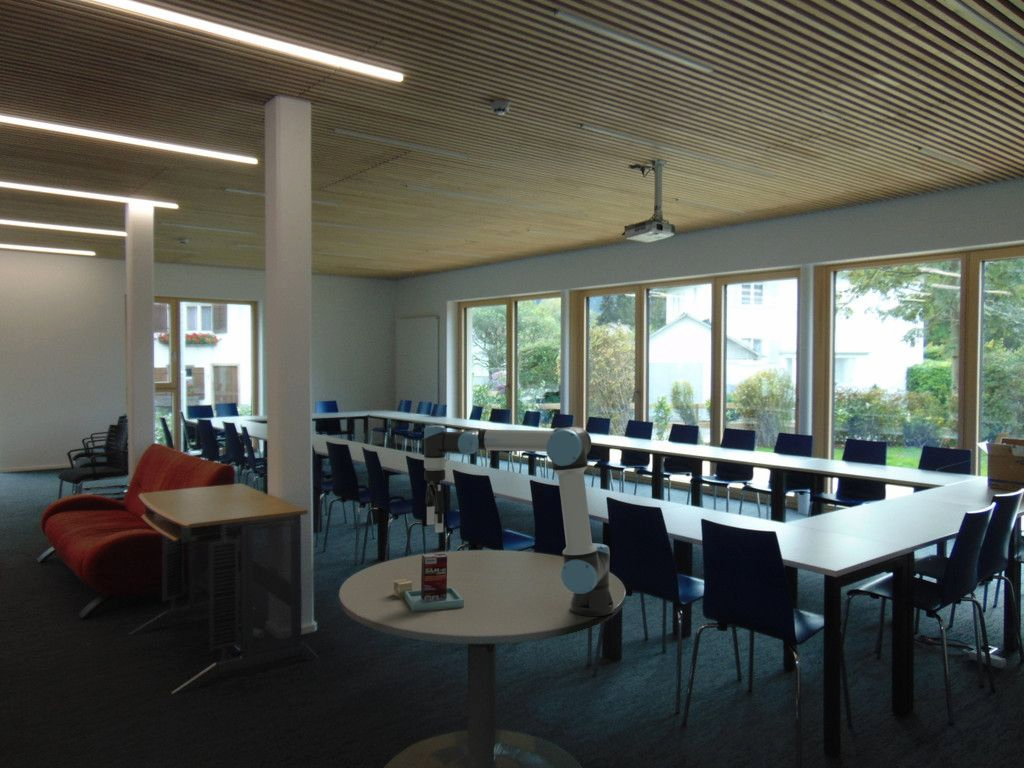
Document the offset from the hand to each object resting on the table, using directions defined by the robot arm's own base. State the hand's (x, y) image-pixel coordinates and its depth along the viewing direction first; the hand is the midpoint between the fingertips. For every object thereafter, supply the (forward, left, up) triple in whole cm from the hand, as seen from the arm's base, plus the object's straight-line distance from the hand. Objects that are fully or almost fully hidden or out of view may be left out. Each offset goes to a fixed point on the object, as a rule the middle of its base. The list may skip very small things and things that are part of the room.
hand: (434, 528), depth 267 cm
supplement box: (0, 0, -26) cm, 26 cm away
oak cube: (+12, +9, -27) cm, 31 cm away
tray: (0, 0, -27) cm, 27 cm away
